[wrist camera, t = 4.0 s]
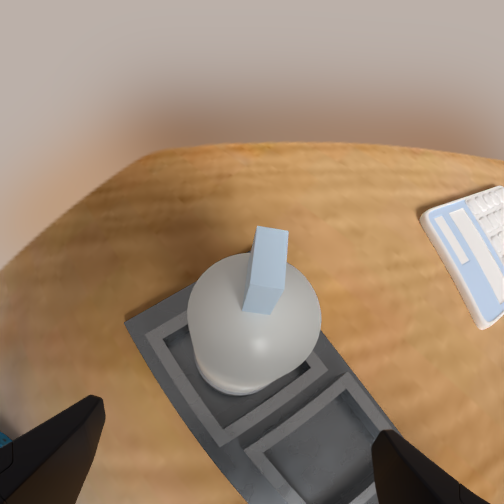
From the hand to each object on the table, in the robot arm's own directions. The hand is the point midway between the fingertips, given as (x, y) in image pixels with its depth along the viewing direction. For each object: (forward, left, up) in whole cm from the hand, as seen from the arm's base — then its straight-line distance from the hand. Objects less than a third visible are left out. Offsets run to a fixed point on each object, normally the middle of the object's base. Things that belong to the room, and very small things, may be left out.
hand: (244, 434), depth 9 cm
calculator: (+33, -5, -12) cm, 35 cm away
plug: (+3, +3, -11) cm, 11 cm away
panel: (+3, -1, -11) cm, 12 cm away
